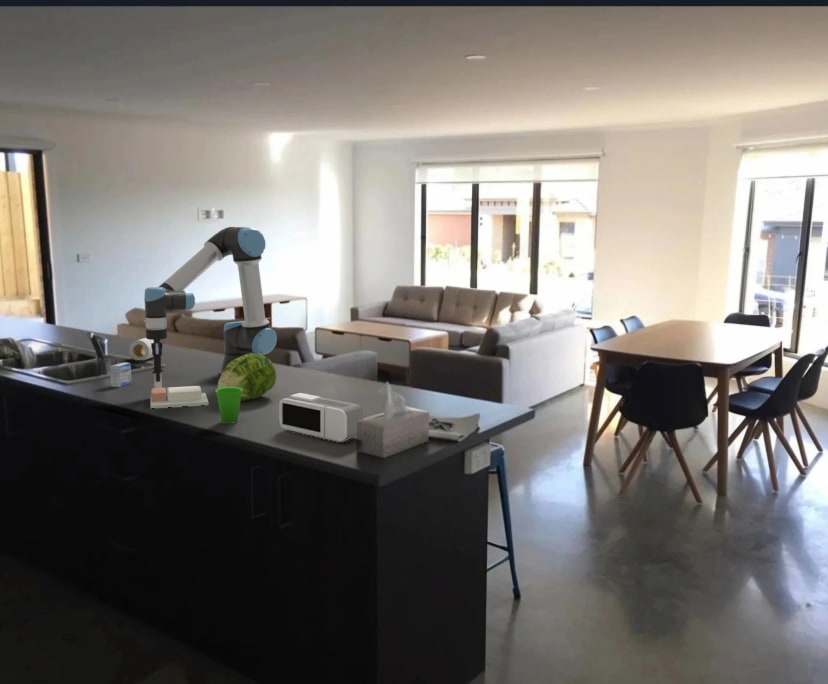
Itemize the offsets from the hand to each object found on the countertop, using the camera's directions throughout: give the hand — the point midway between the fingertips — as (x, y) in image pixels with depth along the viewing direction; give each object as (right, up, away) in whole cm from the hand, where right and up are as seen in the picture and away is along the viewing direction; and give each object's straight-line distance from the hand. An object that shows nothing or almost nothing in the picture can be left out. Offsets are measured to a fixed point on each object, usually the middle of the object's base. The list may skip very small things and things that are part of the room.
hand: (158, 389), depth 280 cm
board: (+11, -4, -8) cm, 14 cm away
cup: (+36, -9, -32) cm, 49 cm away
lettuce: (+34, -4, -2) cm, 34 cm away
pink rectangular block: (+3, -3, -8) cm, 9 cm away
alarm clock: (+68, -12, -45) cm, 82 cm away
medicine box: (-21, 0, +17) cm, 27 cm away
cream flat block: (+12, -3, -5) cm, 13 cm away
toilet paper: (-32, +10, +72) cm, 80 cm away
